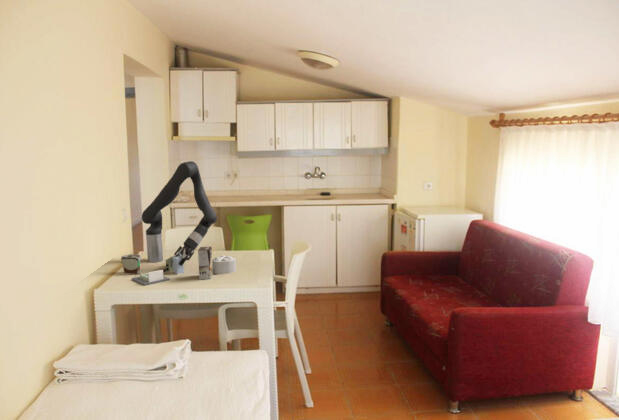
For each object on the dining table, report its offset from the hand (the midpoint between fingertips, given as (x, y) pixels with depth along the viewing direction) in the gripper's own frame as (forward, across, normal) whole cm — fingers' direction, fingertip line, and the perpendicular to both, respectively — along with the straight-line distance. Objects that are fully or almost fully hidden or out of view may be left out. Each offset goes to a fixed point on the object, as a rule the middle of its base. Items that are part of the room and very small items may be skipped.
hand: (176, 263), depth 274 cm
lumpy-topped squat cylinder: (-11, +17, +19) cm, 28 cm away
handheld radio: (+1, -14, +8) cm, 16 cm away
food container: (+16, -19, -8) cm, 26 cm away
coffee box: (-1, +20, +9) cm, 22 cm away
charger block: (+3, 0, +5) cm, 6 cm away
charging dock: (+16, +3, -8) cm, 18 cm away
